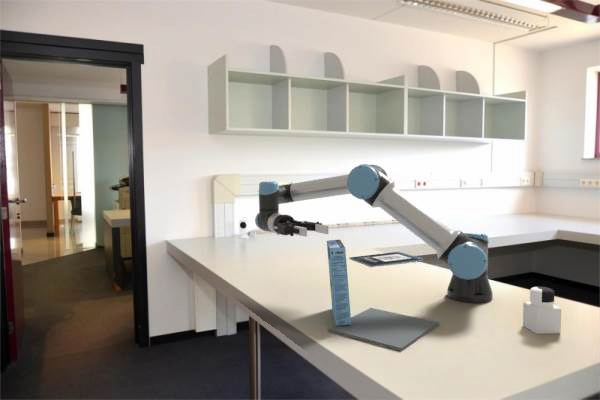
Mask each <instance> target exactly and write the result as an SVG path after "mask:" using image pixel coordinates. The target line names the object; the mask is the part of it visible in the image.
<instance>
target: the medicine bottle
mask: <svg viewBox="0 0 600 400" xmlns="http://www.w3.org/2000/svg"><path fill="white" fill-rule="evenodd" d="M529 298H530V299H529V301H523V303H522V304H523V306H522V308H523V310H522V325H523V327H525V328H527V329H528V330H530V331H531V332H532V333H534V334H536V335H548V334H549V335H550V334H551V335H552V334H555V335H556V334H561V332H562V329H561V328H562V308H560V307H559V306H557V305H555V290H554V289H552V288H549V287H547V286H533V287H531V288H530V289H529Z"/></svg>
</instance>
